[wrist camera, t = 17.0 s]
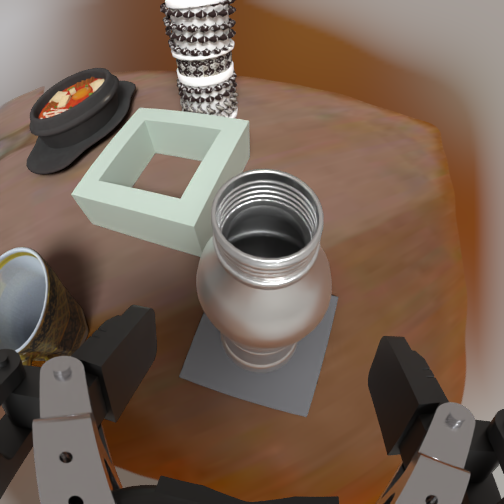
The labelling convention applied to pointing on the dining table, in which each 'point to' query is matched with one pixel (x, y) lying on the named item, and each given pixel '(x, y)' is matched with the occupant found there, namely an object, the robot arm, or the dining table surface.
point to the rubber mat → (260, 384)
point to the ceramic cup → (37, 309)
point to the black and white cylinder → (203, 54)
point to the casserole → (76, 117)
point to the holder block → (157, 205)
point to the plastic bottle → (264, 268)
